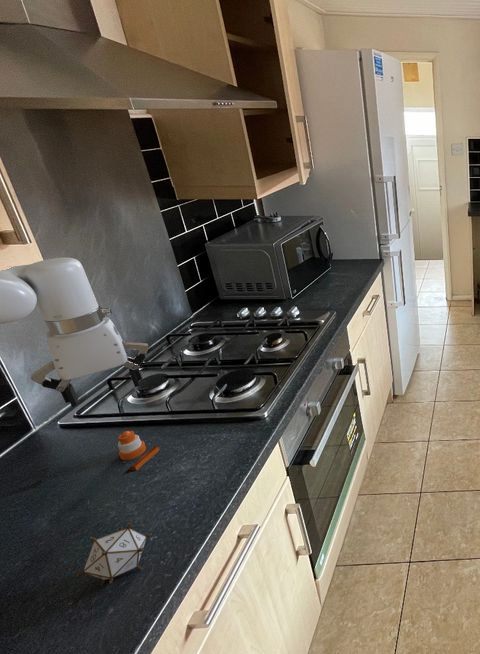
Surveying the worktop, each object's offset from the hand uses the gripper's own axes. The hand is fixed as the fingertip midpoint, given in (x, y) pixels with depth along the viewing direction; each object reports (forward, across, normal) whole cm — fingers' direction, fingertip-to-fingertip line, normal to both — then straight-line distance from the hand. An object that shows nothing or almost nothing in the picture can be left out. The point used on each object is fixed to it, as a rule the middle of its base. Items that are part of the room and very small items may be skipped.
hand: (107, 393), depth 87 cm
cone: (+19, 0, -1) cm, 19 cm away
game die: (+19, +2, +30) cm, 35 cm away
